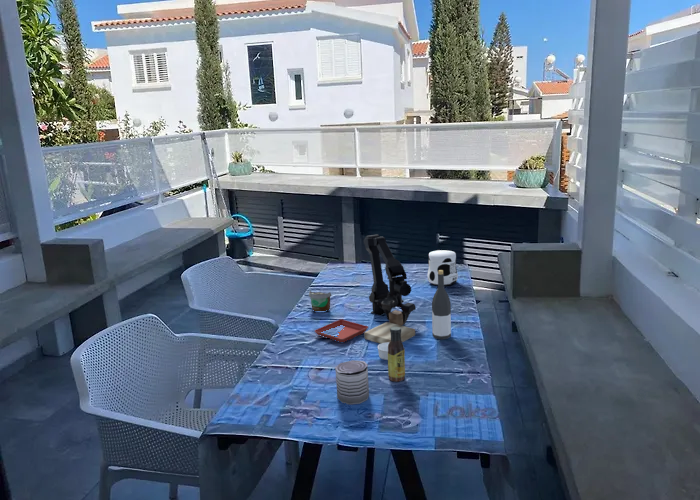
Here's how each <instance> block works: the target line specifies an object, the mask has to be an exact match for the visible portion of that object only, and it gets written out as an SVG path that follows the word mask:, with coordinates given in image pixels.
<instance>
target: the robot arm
mask: <svg viewBox="0 0 700 500" xmlns="http://www.w3.org/2000/svg"><path fill="white" fill-rule="evenodd" d="M386 240H387V238H386V237H384V236H381V235H379V234H371V235H370V234H369V235H366V236H365V237H364V238H363V245H364V247H365V250H366V251H367V253H369V259H370V265H371V273H372V279H373V284H372V285H371V289H370V290H371V293H370V294H369V296H368V299H369V302H370V303H372V305H371V306H372V311H371V312H370V314H374V315H377V316H383V315H385V316H386V319H387V321H389V313H390V312H392V309H395V308H400V309H401V313H402V314H403V325H405V324H406V323H407V321H408V318H409V316H410V314H411V312H414V311H415V310H416V304H415V303H412V302H406V303H404V301H405V300H404V299H403V297H407V296H409V295H410V294H411V292H412V287H411V285H410V284H409V283H408V281H407V280H408V276H407V275H408V274H407V273H406V270H405V268H404V266H403V265H402V262H400V260H398V259H396V258H395V256H394V255H393V253H392V250H391V249H390V247H389V245H388V243H387V241H386ZM381 258H382V259H383V262H384V263H385V267H384V269H385V274H386V276H387V280H388V283H386V282H385V281H384V276H383V269H382V262H381Z"/></svg>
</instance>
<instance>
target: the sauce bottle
mask: <svg viewBox="0 0 700 500" xmlns="http://www.w3.org/2000/svg"><path fill="white" fill-rule="evenodd" d="M390 332H391V341H390V342H389V344H388V360H387V373H388V374H387V375H388V379H389V380H390V381H391V382H396V383H397V382H402V381H405V380H404V379H405V375H406V359H405V358H406V353H405V352H406V350H405V346H404V344H403V343H404V342H402V341H401V328H400V327H391V328H390Z"/></svg>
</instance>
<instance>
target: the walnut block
mask: <svg viewBox="0 0 700 500" xmlns="http://www.w3.org/2000/svg"><path fill="white" fill-rule="evenodd" d="M401 312H402V310H401V311H400V310H397V309H395V310H393V311H392V310H391V312H390V313H389V320H388V322H390V323H393V324H397V325H401V326H404V324H403V314H402V313H401Z"/></svg>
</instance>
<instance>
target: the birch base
mask: <svg viewBox="0 0 700 500" xmlns="http://www.w3.org/2000/svg"><path fill="white" fill-rule="evenodd" d="M391 327H400V328H401V341H402V343H404V342H406V341H408V340H410V339H411V338H413V337H415V336H416V328H413V327H410V326H409V327H408V326H405V325H397V324H393V323H390V322H389V321H385V322H383V323H382V324H379V325H377V326H374V327H373V328H370V329H367V330H366V331H365V332H364V333H363V334H364V337H363V338H364V339H365V340H368V341H371V342H373V343H378V344H382V343H387V342H390V341H391V332H390V328H391Z"/></svg>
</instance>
